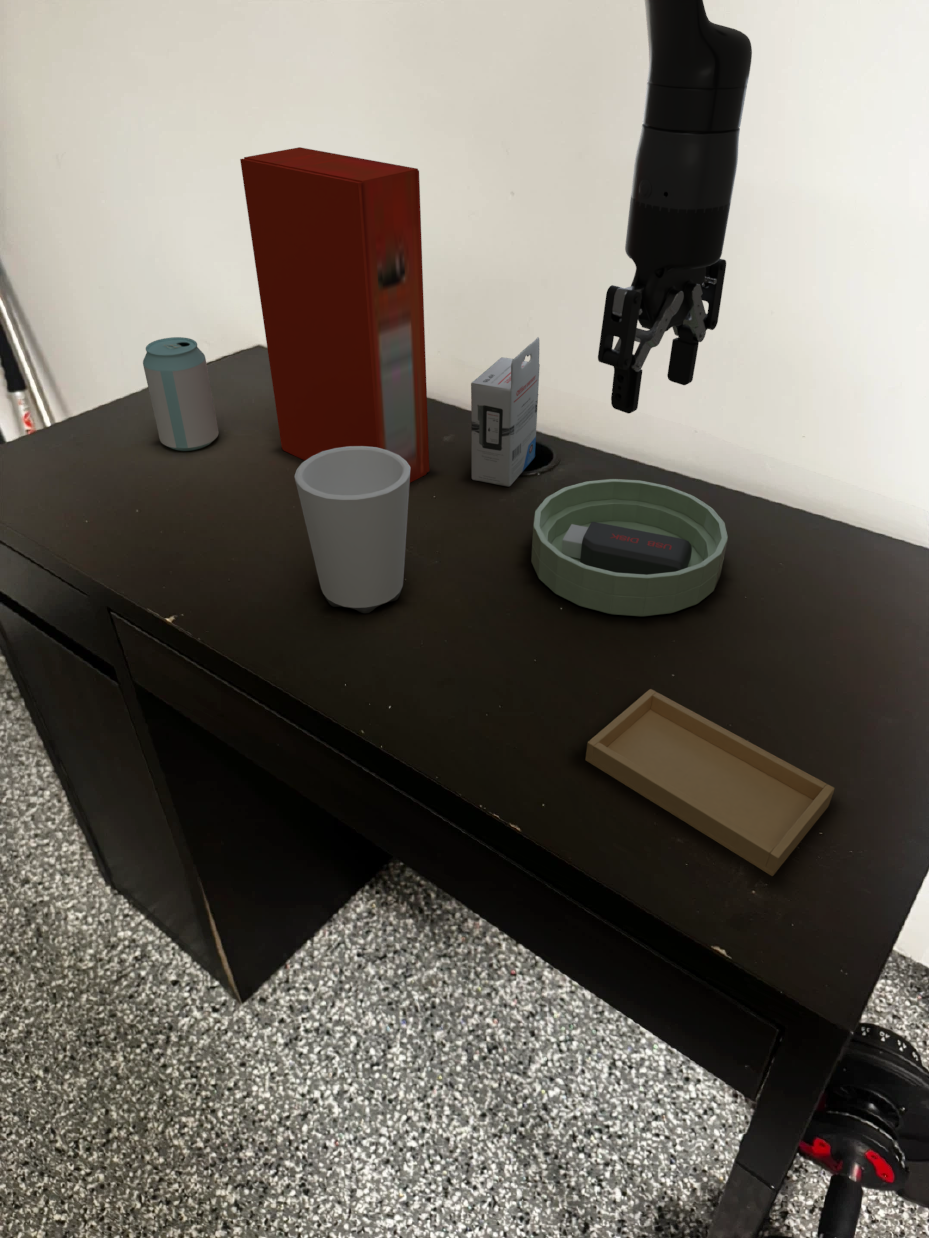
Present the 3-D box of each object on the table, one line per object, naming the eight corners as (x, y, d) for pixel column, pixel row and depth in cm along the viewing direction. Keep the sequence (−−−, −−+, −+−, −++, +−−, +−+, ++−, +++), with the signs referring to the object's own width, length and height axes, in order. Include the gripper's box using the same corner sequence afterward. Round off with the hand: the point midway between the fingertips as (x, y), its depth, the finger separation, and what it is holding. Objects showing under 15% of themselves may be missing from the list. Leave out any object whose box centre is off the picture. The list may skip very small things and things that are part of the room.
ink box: (497, 449, 107) (500, 329, 99) (536, 457, 106) (542, 335, 97) (468, 480, 101) (469, 354, 92) (509, 488, 100) (514, 361, 91)
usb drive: (680, 587, 84) (685, 563, 82) (558, 562, 87) (560, 538, 85) (690, 559, 87) (694, 535, 86) (572, 536, 91) (574, 512, 89)
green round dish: (753, 561, 88) (762, 522, 85) (649, 644, 77) (656, 602, 74) (603, 499, 98) (607, 462, 95) (493, 565, 87) (495, 526, 84)
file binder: (378, 498, 98) (357, 181, 79) (280, 451, 107) (239, 157, 88) (429, 473, 103) (421, 168, 83) (330, 430, 112) (303, 146, 93)
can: (171, 428, 112) (151, 334, 105) (225, 429, 112) (209, 335, 105) (153, 453, 107) (130, 355, 100) (210, 454, 106) (192, 356, 99)
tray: (828, 806, 62) (835, 787, 61) (772, 876, 58) (778, 858, 57) (647, 706, 71) (650, 688, 70) (585, 760, 66) (587, 741, 65)
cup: (290, 588, 84) (272, 467, 76) (375, 552, 89) (366, 435, 81) (349, 637, 78) (336, 511, 70) (436, 596, 83) (433, 473, 75)
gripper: (671, 217, 61) (641, 434, 71) (772, 186, 69) (732, 384, 79) (584, 200, 65) (567, 407, 75) (689, 172, 73) (661, 362, 83)
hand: (652, 395), depth 77 cm, fingers open, 8 cm apart
